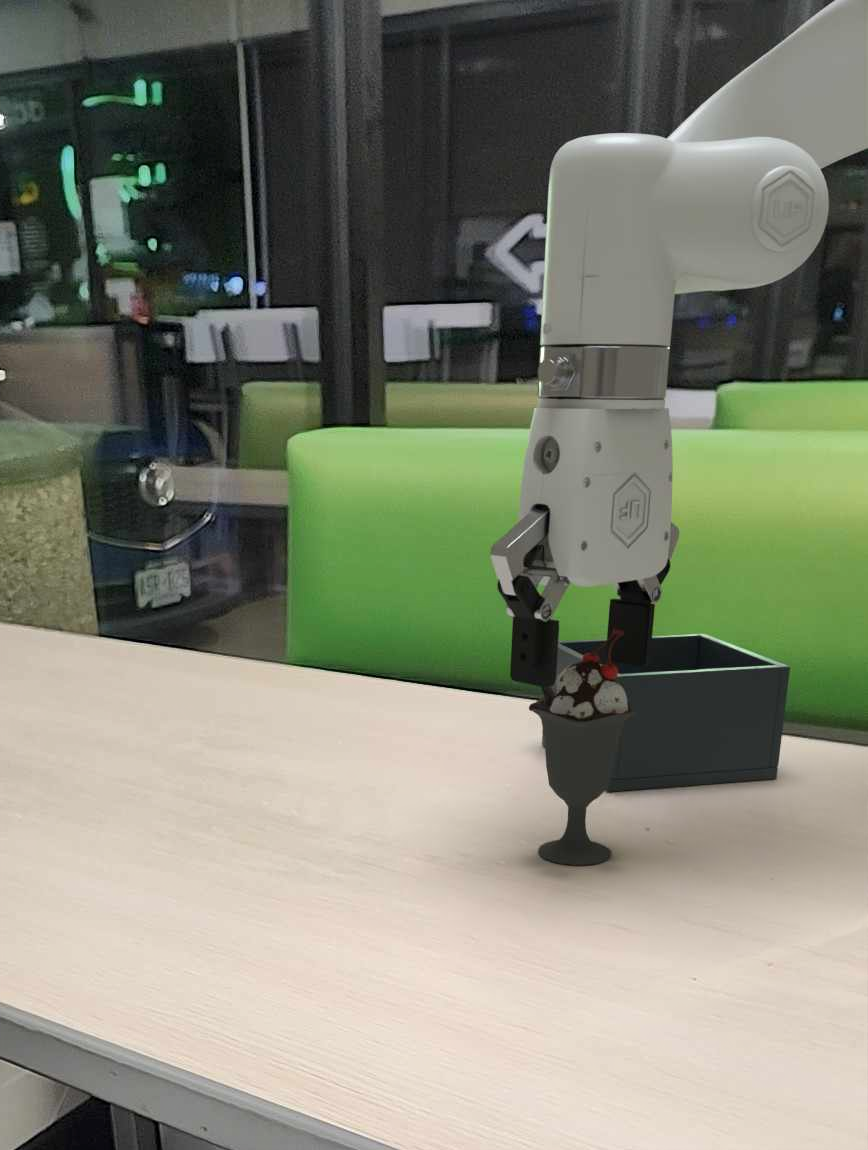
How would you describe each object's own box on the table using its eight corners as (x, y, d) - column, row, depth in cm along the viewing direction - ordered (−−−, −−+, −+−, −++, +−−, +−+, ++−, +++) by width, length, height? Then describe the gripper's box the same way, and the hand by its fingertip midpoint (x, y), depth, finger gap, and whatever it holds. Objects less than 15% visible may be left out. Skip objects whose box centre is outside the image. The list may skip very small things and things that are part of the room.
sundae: (645, 856, 89) (664, 631, 83) (570, 876, 86) (584, 642, 80) (579, 831, 94) (592, 616, 88) (505, 849, 91) (514, 627, 85)
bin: (694, 734, 119) (704, 633, 116) (776, 779, 106) (790, 666, 103) (541, 745, 116) (546, 641, 112) (607, 792, 103) (615, 676, 99)
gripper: (559, 381, 70) (540, 702, 77) (737, 383, 81) (707, 664, 88) (455, 380, 75) (446, 682, 82) (637, 382, 86) (615, 648, 93)
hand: (581, 672), depth 85 cm, fingers open, 9 cm apart
